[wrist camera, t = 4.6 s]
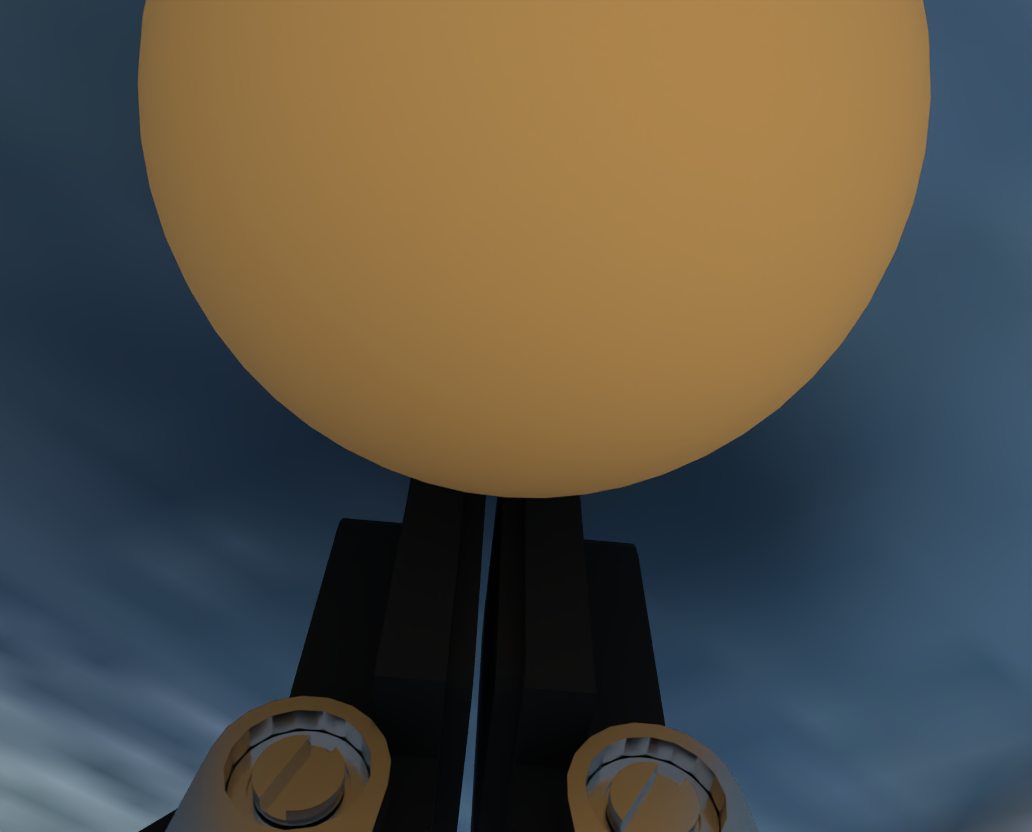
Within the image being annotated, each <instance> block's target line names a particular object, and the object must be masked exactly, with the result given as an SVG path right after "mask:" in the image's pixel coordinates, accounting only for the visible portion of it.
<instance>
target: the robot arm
mask: <svg viewBox="0 0 1032 832" xmlns="http://www.w3.org/2000/svg"><path fill="white" fill-rule="evenodd" d="M485 499H486V495H483V494H476V493H468V492H462V491H458V490H454V489H450V488H446V487H442V486H437V485H433V484H429V483H425V482H423V481H420V480H417V479H414V478H411V481H410V486H409V491H408V497H407V502H406V507H405V513H404V518H403V523H393V522H382V521H371V520H360V519H348V518H342V520H341V521H340V523H339V526H338V529H337V532H336V535H335V539H334V542H333V546H332V549H331V553H330V556H329V560H328V563H327V567H326V570H325V574H324V577H323V581H322V585H321V588H320V592H319V595H318V599H317V602H316V606H315V609H314V613H313V616H312V620H311V623H310V627H309V630H308V634H307V637H306V641H305V644H304V648H303V651H302V655H301V658H300V662H299V665H298V669H297V673H296V676H295V680H294V683H293V687H292V690H291V694H290V697H289V698H286V699H280V700H274V701H272V702H269V703H267V704H265V705H262V706H260V707H257V708H255V709H252V710H250V711H248V712H247V713H246V714H244V715H243V716H241V717H240V718H239V719H237V720H236V721H235V722H233V723H232V724H231V725H229V726H228V727H227V728H226V729H225V730H224V732H223V733H222V734H221V736H220V737H219V738H218V740H217V741H216V742H215V743H214V745H213V746H212V747H211V749H210V751H209V752H208V754H207V756H206V758H205V760H204V762H203V763H202V765H201V767H200V769H199V771H198V772H197V774H196V776H195V778H194V780H193V781H192V783H191V785H190V787H189V789H188V791H187V792H186V794H185V796H184V798H183V800H182V801H181V803H180V805H179V807H178V809H176V810H174V811H173V812H171V813H169V814H168V815H166V816H164V817H163V818H161V819H159V820H157V821H156V822H154V823H152V824H151V825H149V826H147V827H146V828H144V829H142V830H141V831H139V832H457V825H458V816H459V807H460V798H461V789H462V780H463V771H464V762H465V754H466V745H467V736H468V727H469V718H470V709H471V699H472V688H473V677H474V665H475V651H476V636H477V621H478V605H479V590H480V575H481V560H482V545H483V529H484V514H485ZM471 832H758V830H757V827H756V825H755V822H754V820H753V817H752V815H751V812H750V810H749V807H748V805H747V802H746V800H745V797H744V795H743V792H742V790H741V788H740V786H739V784H738V783H737V781H736V779H735V777H734V776H733V774H732V772H731V771H730V769H729V767H728V766H727V765H726V764H725V763H724V762H723V761H722V760H721V759H720V758H719V757H718V756H717V755H716V754H715V753H714V752H713V751H712V750H711V749H710V748H709V747H707V746H706V745H704V744H702V743H701V742H699V741H697V740H696V739H694V738H692V737H691V736H689V735H687V734H686V733H683V732H680V731H677V730H674V729H671V728H668V727H665V722H664V715H663V709H662V703H661V696H660V690H659V684H658V677H657V671H656V665H655V658H654V652H653V646H652V640H651V633H650V627H649V621H648V614H647V608H646V602H645V595H644V589H643V583H642V576H641V570H640V564H639V558H638V553H637V549H636V547H635V546H634V544H629V543H618V542H607V541H595V540H584V538H583V526H582V514H581V502H580V495H574V496H562V497H551V498H518V497H499V496H497V505H496V514H495V523H494V531H493V540H492V549H491V558H490V566H489V575H488V584H487V593H486V601H485V610H484V620H483V632H482V646H481V663H480V680H479V697H478V714H477V731H476V748H475V765H474V782H473V799H472V816H471Z"/></svg>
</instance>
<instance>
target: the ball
mask: <svg viewBox="0 0 1032 832" xmlns="http://www.w3.org/2000/svg"><path fill="white" fill-rule="evenodd" d="M138 97H139V116H140V135H141V142H142V148H143V153H144V159H145V164H146V170H147V175H148V181H149V186H150V190H151V193H152V196H153V200H154V203H155V206H156V209H157V212H158V215H159V219H160V222H161V225H162V228H163V231H164V234H165V237H166V239H167V241H168V244H169V246H170V248H171V250H172V252H173V255H174V257H175V259H176V261H177V263H178V266H179V268H180V270H181V272H182V274H183V277H184V279H185V281H186V283H187V285H188V286H189V288H190V290H191V292H192V294H193V295H194V297H195V299H196V300H197V302H198V303H199V305H200V307H201V308H202V310H203V312H204V313H205V315H206V317H207V318H208V320H209V322H210V323H211V325H212V326H213V328H214V330H215V331H216V333H217V334H218V335H219V336H220V338H221V339H222V340H223V342H224V343H225V344H226V345H227V347H228V348H229V349H230V350H231V352H232V353H233V354H234V356H235V357H236V358H237V359H238V361H239V362H240V363H241V364H242V366H243V367H244V368H245V369H246V370H247V371H248V372H249V373H250V374H251V375H252V376H253V377H254V378H255V379H256V380H257V381H258V382H259V383H260V384H261V385H262V386H263V387H264V388H265V389H266V390H267V391H268V392H269V393H270V394H271V395H272V396H273V397H274V398H275V399H276V400H277V401H279V402H280V403H281V404H282V405H284V406H285V407H286V408H287V409H289V410H290V411H291V412H292V413H294V414H295V415H296V416H297V417H299V418H300V419H301V420H302V421H304V422H305V423H306V424H307V425H309V426H310V427H312V428H313V429H315V430H316V431H318V432H320V433H321V434H323V435H324V436H326V437H328V438H329V439H331V440H332V441H334V442H336V443H337V444H339V445H340V446H342V447H343V448H345V449H347V450H349V451H351V452H353V453H355V454H357V455H359V456H362V457H364V458H366V459H368V460H370V461H372V462H374V463H376V464H378V465H380V466H382V467H384V468H387V469H389V470H392V471H394V472H397V473H400V474H403V475H406V476H409V477H411V478H414V479H417V480H420V481H423V482H425V483H429V484H433V485H437V486H442V487H446V488H450V489H454V490H458V491H462V492H468V493H476V494H483V495H491V496H499V497H518V498H551V497H562V496H574V495H585V494H590V493H595V492H600V491H605V490H610V489H615V488H620V487H625V486H628V485H631V484H635V483H638V482H641V481H644V480H647V479H651V478H654V477H657V476H660V475H663V474H666V473H668V472H670V471H672V470H675V469H677V468H679V467H682V466H684V465H686V464H688V463H691V462H693V461H695V460H698V459H700V458H702V457H704V456H706V455H708V454H710V453H712V452H713V451H715V450H717V449H719V448H720V447H722V446H724V445H726V444H727V443H729V442H731V441H733V440H734V439H736V438H738V437H739V436H741V435H743V434H745V433H746V432H747V431H749V430H750V429H751V428H753V427H754V426H755V425H757V424H758V423H760V422H761V421H762V420H764V419H765V418H766V417H768V416H769V415H770V414H772V413H773V412H775V411H776V410H777V409H779V408H780V407H781V406H782V405H783V404H784V403H785V402H786V401H788V400H789V399H790V398H791V397H792V396H793V395H794V394H795V393H796V392H797V391H798V390H799V389H801V388H802V387H803V386H804V385H805V384H806V383H807V382H808V381H809V380H810V379H811V378H812V377H813V376H814V375H815V374H816V373H817V372H818V370H819V369H820V368H821V367H822V366H823V365H824V363H825V362H826V361H827V360H828V359H829V358H830V357H831V355H832V354H833V353H834V352H835V351H836V350H837V348H838V347H839V346H840V345H841V344H842V342H843V341H844V339H845V338H846V337H847V335H848V334H849V332H850V331H851V329H852V328H853V326H854V325H855V323H856V322H857V320H858V319H859V317H860V316H861V314H862V313H863V311H864V310H865V308H866V307H867V305H868V304H869V302H870V300H871V298H872V296H873V294H874V292H875V290H876V288H877V286H878V284H879V282H880V280H881V279H882V277H883V275H884V273H885V271H886V269H887V267H888V265H889V263H890V261H891V259H892V257H893V255H894V253H895V251H896V249H897V246H898V244H899V241H900V238H901V235H902V233H903V230H904V227H905V225H906V222H907V219H908V216H909V214H910V211H911V208H912V206H913V203H914V199H915V195H916V190H917V186H918V182H919V177H920V173H921V169H922V165H923V160H924V156H925V151H926V141H927V132H928V122H929V112H930V102H931V90H930V57H929V35H928V26H927V20H926V14H925V8H924V2H923V0H146V2H145V7H144V12H143V17H142V30H141V43H140V56H139V68H138Z"/></svg>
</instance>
